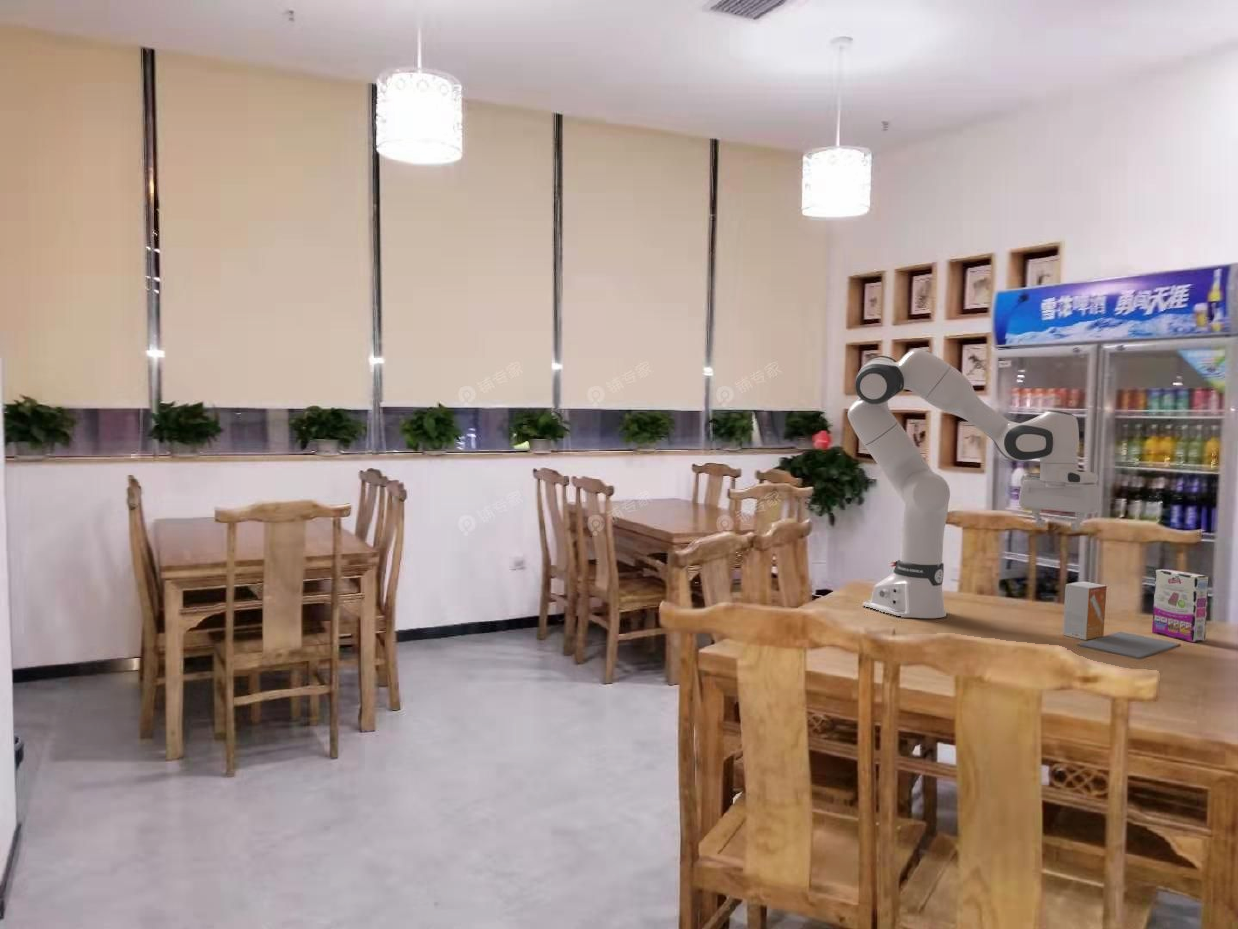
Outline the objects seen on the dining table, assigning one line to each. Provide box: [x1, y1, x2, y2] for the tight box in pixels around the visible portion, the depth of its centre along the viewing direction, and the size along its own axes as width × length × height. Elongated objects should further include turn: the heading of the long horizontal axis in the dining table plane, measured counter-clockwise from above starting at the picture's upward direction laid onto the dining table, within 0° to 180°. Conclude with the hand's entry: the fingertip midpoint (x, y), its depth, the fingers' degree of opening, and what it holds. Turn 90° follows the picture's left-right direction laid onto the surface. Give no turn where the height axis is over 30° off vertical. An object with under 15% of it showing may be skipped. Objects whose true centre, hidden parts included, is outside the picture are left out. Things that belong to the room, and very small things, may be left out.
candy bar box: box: [1151, 568, 1210, 643], centre depth 233 cm, size 11×5×16 cm, turn 23°
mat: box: [1077, 631, 1181, 660], centre depth 224 cm, size 14×22×1 cm, turn 127°
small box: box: [1062, 581, 1108, 641], centre depth 232 cm, size 8×6×13 cm
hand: (1057, 528), depth 238 cm, fingers open, 8 cm apart
